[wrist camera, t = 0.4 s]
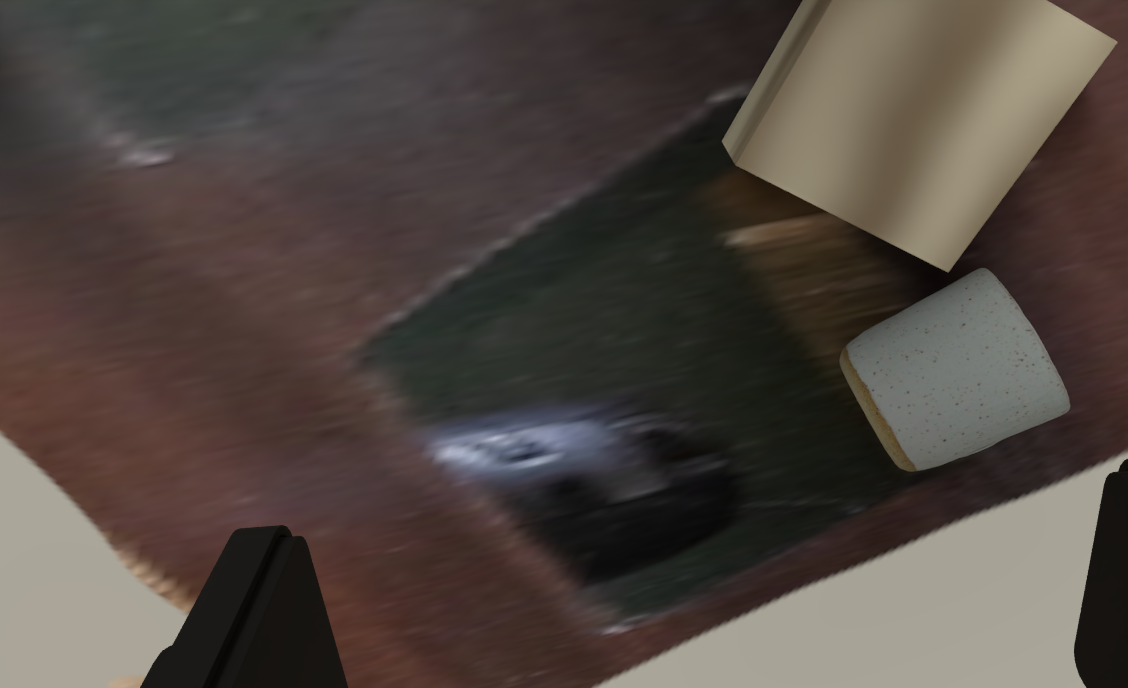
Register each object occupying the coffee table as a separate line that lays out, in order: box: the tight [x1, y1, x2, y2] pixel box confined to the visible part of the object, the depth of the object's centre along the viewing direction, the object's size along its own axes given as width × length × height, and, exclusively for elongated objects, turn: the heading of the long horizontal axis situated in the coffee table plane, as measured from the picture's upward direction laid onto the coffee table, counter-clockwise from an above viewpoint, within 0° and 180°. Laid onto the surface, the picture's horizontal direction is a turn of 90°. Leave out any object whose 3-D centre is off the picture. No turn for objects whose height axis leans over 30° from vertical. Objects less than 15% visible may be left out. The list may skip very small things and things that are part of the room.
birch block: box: [722, 0, 1117, 272], centre depth 39 cm, size 11×11×4 cm
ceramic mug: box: [839, 268, 1070, 472], centre depth 44 cm, size 11×8×8 cm
